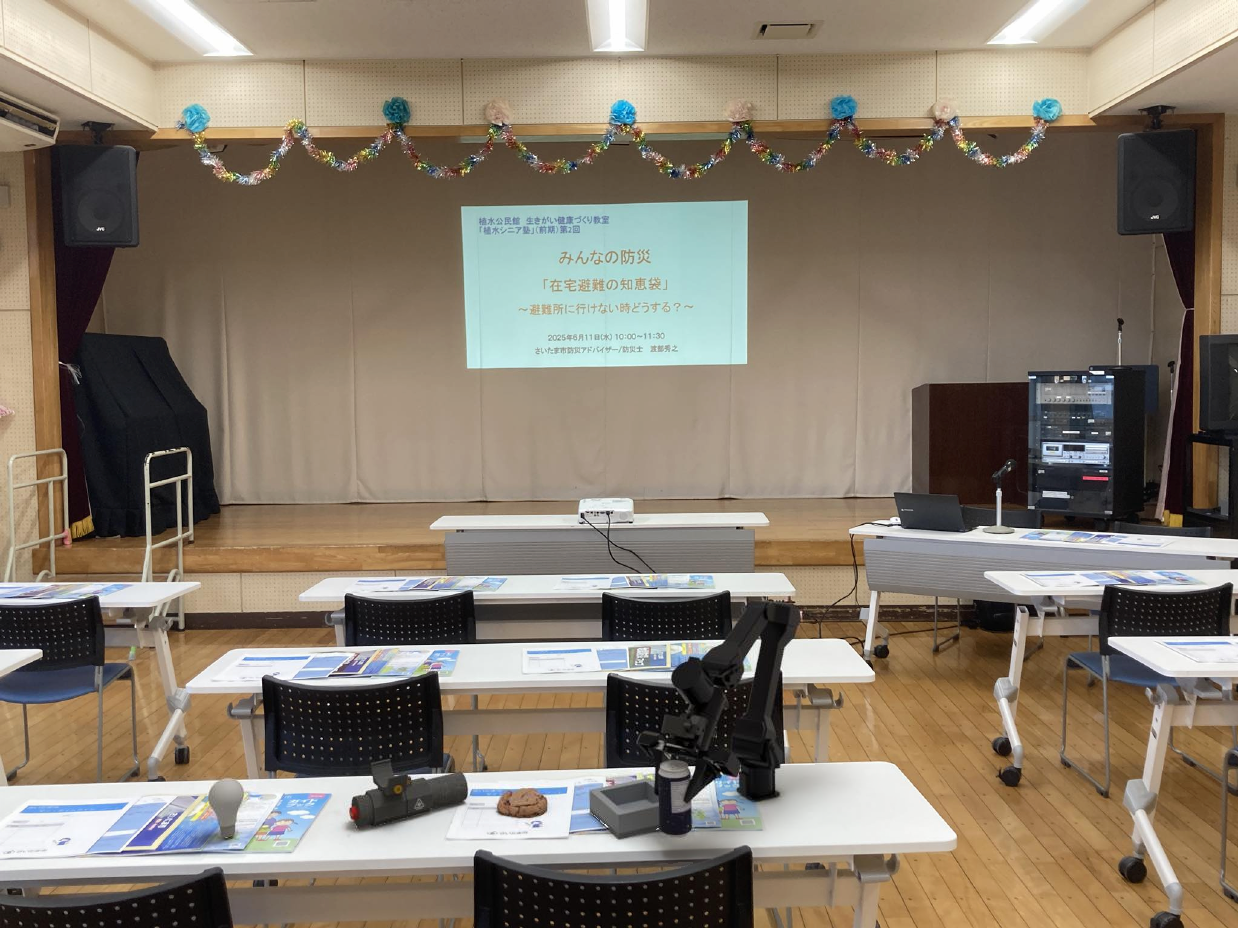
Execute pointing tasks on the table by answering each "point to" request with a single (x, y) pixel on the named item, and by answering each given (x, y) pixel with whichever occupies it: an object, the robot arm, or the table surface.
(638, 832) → the can bin
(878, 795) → the table surface
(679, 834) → the beverage can
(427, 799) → the laser sight
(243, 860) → the table surface
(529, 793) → the cookie
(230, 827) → the lightbulb
